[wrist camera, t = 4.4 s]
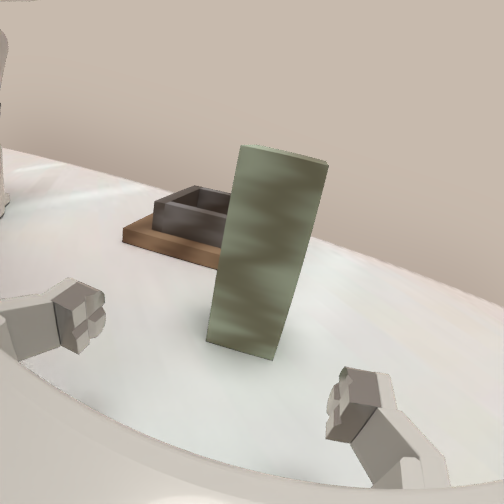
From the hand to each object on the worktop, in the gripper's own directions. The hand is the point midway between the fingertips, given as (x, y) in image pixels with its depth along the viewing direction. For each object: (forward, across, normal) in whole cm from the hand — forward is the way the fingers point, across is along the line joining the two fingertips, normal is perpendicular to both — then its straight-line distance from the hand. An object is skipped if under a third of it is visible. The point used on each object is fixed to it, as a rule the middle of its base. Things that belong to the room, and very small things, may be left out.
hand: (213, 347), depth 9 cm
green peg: (+10, 0, +6) cm, 12 cm away
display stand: (+25, +7, +6) cm, 27 cm away
